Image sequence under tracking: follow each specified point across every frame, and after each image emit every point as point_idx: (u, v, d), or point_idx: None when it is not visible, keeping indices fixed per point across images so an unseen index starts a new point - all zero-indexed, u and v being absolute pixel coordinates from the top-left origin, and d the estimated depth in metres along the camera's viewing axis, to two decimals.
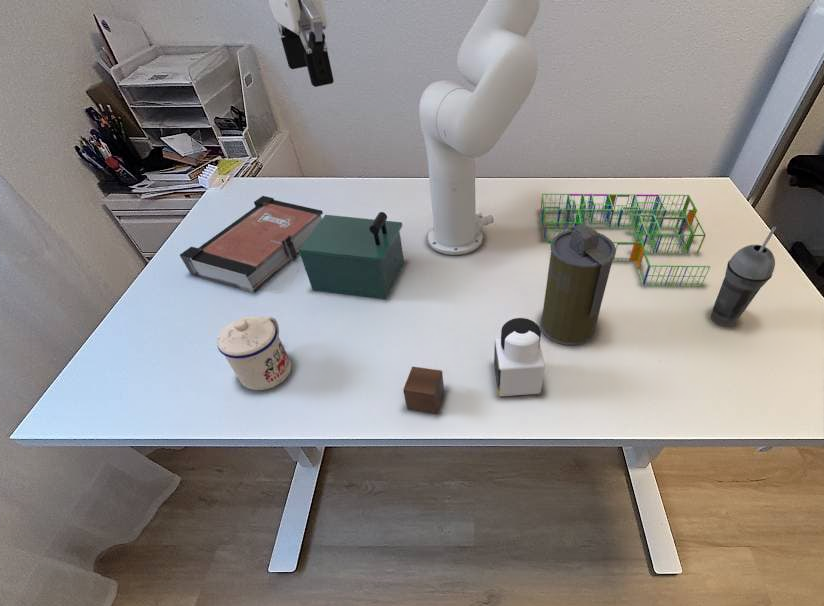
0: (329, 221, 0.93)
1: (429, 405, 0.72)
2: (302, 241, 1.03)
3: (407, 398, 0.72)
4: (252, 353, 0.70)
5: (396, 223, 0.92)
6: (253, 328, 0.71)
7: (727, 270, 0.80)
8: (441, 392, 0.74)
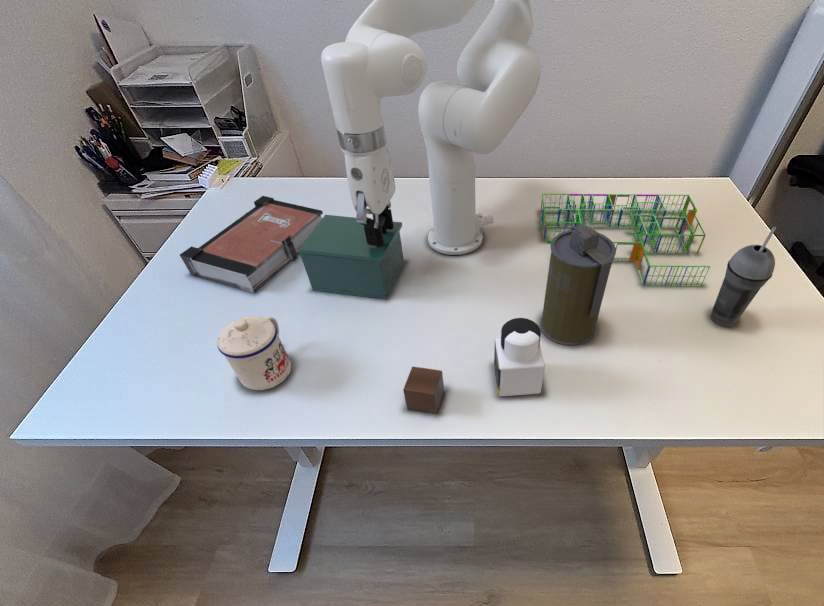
0: (329, 221, 0.93)
1: (429, 405, 0.72)
2: (302, 241, 1.03)
3: (407, 398, 0.72)
4: (252, 353, 0.70)
5: (396, 223, 0.92)
6: (253, 328, 0.71)
7: (727, 270, 0.80)
8: (441, 392, 0.74)
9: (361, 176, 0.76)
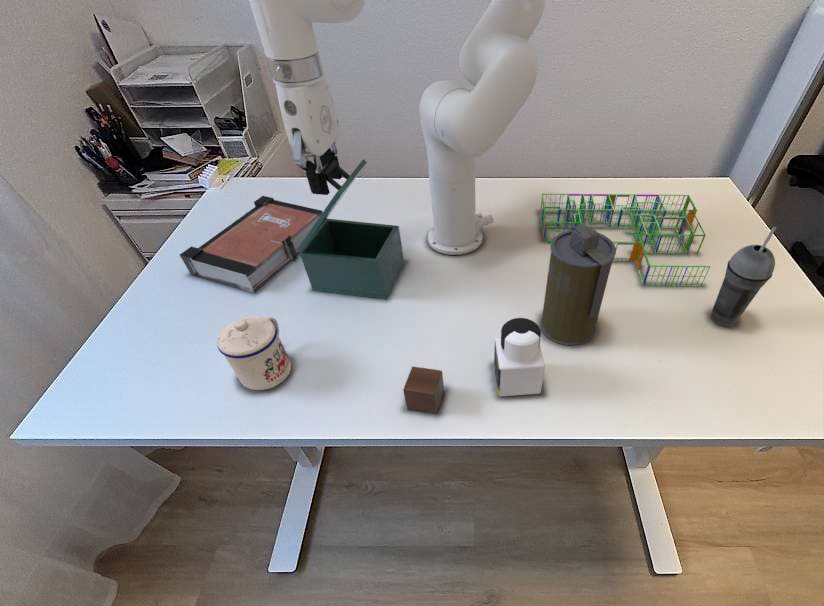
0: None
1: (429, 405, 0.72)
2: (302, 241, 1.03)
3: (407, 398, 0.72)
4: (252, 353, 0.70)
5: None
6: (253, 328, 0.71)
7: (727, 270, 0.80)
8: (441, 392, 0.74)
9: (296, 111, 0.69)
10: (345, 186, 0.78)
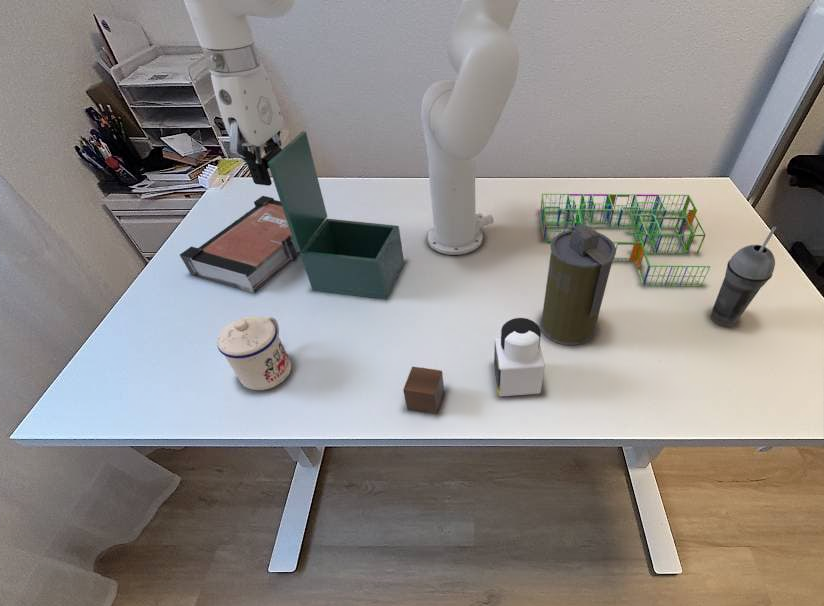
0: None
1: (429, 405, 0.72)
2: None
3: (407, 398, 0.72)
4: (252, 353, 0.70)
5: None
6: (253, 328, 0.71)
7: (727, 270, 0.80)
8: (441, 392, 0.74)
9: None
10: (278, 155, 0.76)
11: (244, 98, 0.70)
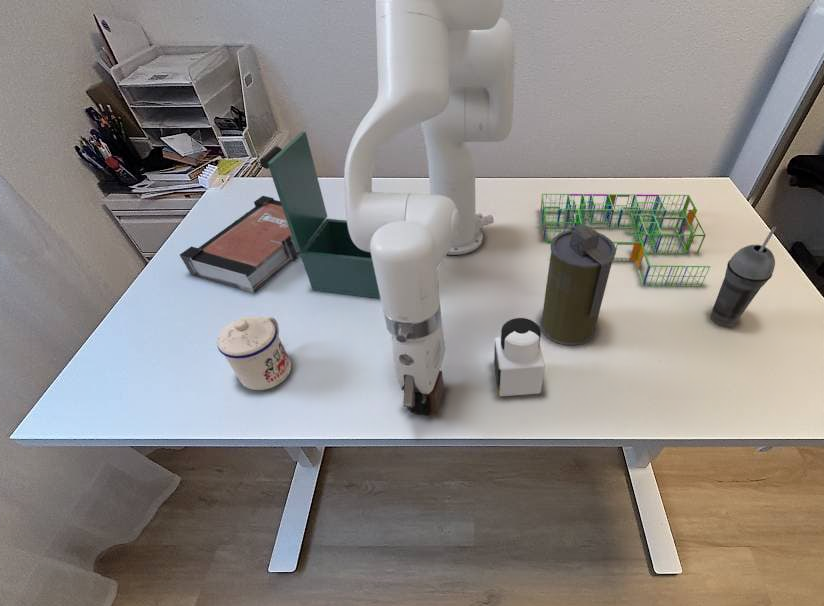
0: None
1: None
2: None
3: None
4: (252, 353, 0.70)
5: None
6: (253, 328, 0.71)
7: (727, 270, 0.80)
8: (441, 392, 0.74)
9: (411, 359, 0.62)
10: (278, 155, 0.76)
11: (426, 358, 0.61)
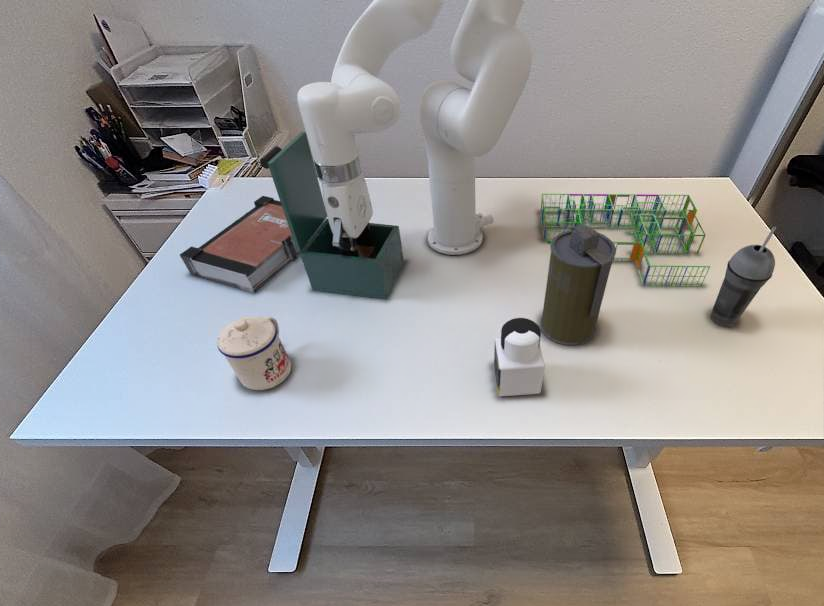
0: None
1: None
2: None
3: None
4: (252, 353, 0.70)
5: None
6: (253, 328, 0.71)
7: (727, 270, 0.80)
8: None
9: (338, 204, 0.80)
10: (278, 155, 0.76)
11: (349, 202, 0.80)
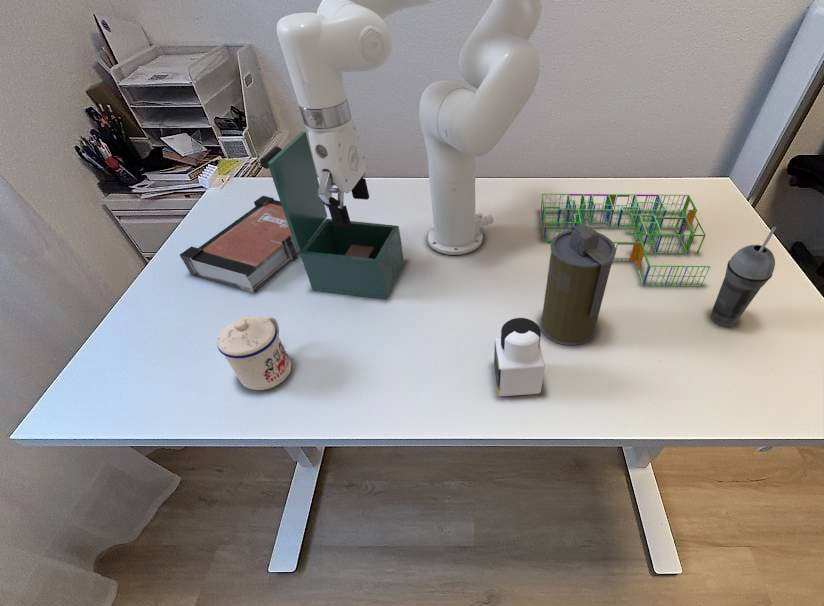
0: None
1: None
2: None
3: None
4: (252, 353, 0.70)
5: None
6: (253, 328, 0.71)
7: (727, 270, 0.80)
8: None
9: (327, 154, 0.74)
10: (278, 155, 0.76)
11: (338, 151, 0.73)
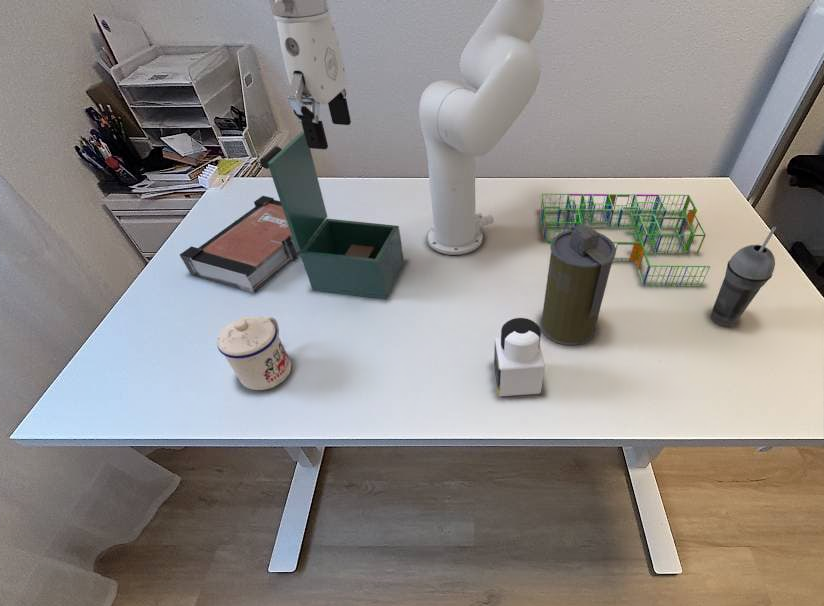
0: None
1: None
2: None
3: None
4: (252, 353, 0.70)
5: None
6: (253, 328, 0.71)
7: (727, 270, 0.80)
8: None
9: (299, 52, 0.63)
10: (278, 155, 0.76)
11: (313, 47, 0.62)
